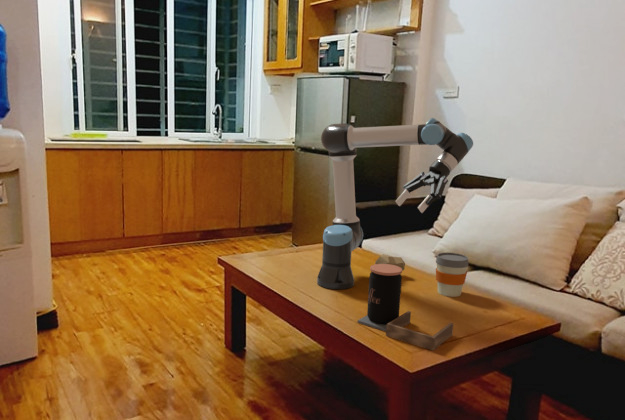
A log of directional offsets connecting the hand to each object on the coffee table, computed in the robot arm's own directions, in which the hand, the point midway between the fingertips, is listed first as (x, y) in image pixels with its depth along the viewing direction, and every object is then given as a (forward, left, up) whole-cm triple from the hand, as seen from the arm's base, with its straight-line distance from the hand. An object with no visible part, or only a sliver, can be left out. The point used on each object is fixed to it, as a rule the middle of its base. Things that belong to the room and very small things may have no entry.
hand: (408, 207), depth 200 cm
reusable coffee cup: (+13, +17, -35) cm, 41 cm away
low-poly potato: (-15, +19, -35) cm, 43 cm away
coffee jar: (+7, -28, -35) cm, 45 cm away
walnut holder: (+22, -29, -35) cm, 50 cm away
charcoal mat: (+7, -28, -35) cm, 45 cm away
